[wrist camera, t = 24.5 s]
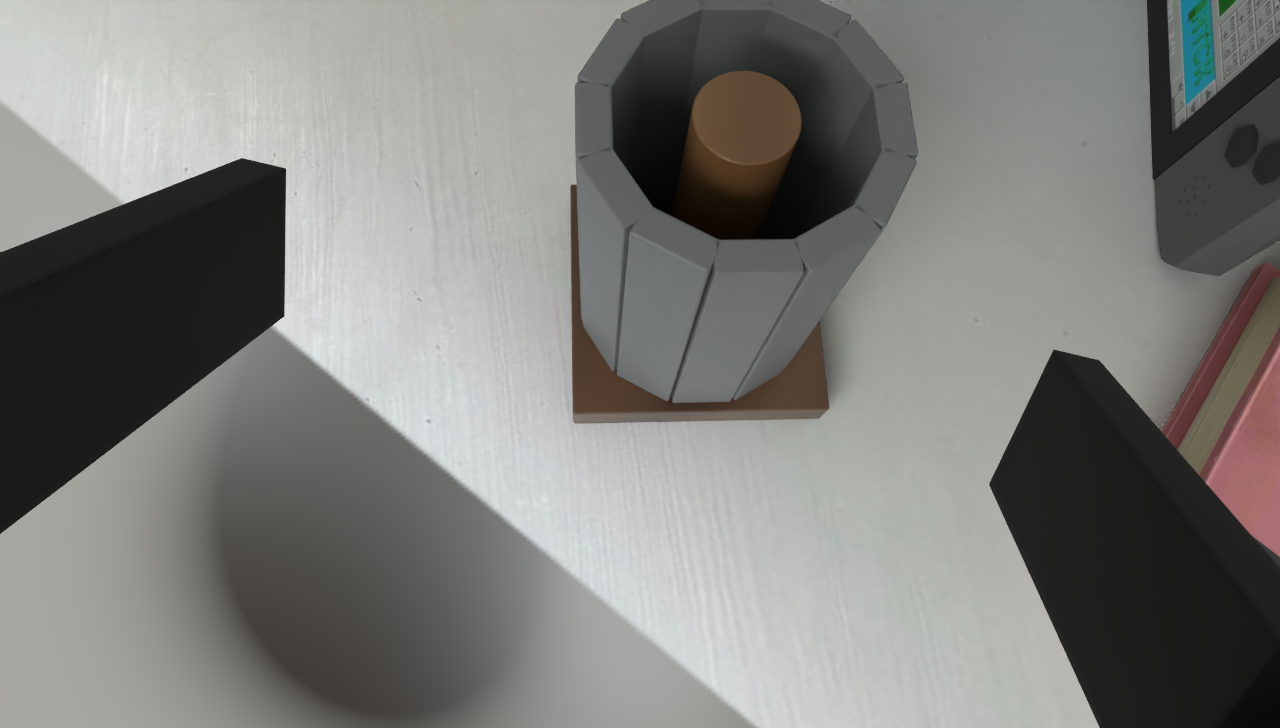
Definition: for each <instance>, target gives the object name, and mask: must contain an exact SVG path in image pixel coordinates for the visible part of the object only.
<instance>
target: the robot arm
mask: <svg viewBox="0 0 1280 728" xmlns="http://www.w3.org/2000/svg"><path fill="white" fill-rule="evenodd" d="M285 206H286V169H285V168H281V167H277V166H273V165H268V164H264V163H260V162H256V161H251V160H247V159H243V158H241V159H239V160H236V161H233V162H231V163H228V164H226V165H223V166H221V167H218V168H216V169H213V170H210V171H208V172H205V173H203V174H200V175H198V176H195V177H193V178H190V179H187V180H185V181H182V182H180V183H177V184H175V185H172V186H170V187H167V188H164V189H162V190H159V191H157V192H154V193H152V194H149V195H147V196H144V197H141V198H139V199H136V200H134V201H131V202H129V203H126V204H124V205H121V206H119V207H116V208H113V209H111V210H108V211H106V212H103V213H101V214H98V215H96V216H93V217H90V218H88V219H85V220H83V221H80V222H78V223H75V224H73V225H70V226H68V227H65V228H62V229H60V230H57V231H55V232H52V233H50V234H47V235H44V236H42V237H39V238H37V239H34V240H32V241H29V242H27V243H24V244H21V245H19V246H16V247H14V248H11V249H9V250H6V251H4V252H0V534H1V533H2V532H3V531H4V530H6V529H7V528H8V527H10V526H11V525H12V524H14V523H15V522H16V521H17V520H19V519H20V518H21V517H23V516H24V515H25V514H27V513H28V512H29V511H30V510H32V509H33V508H34V507H36V506H37V505H38V504H40V503H41V502H42V501H44V500H45V499H46V498H47V497H49V496H50V495H51V494H53V493H54V492H55V491H57V490H58V489H59V488H61V487H62V486H63V485H65V484H66V483H67V482H68V481H70V480H71V479H72V478H73V477H75V476H76V475H77V474H79V473H80V472H81V471H83V470H84V469H85V468H87V467H88V466H89V465H90V464H92V463H93V462H95V461H96V460H97V459H99V458H100V457H101V456H102V455H104V454H105V453H106V452H108V451H109V450H110V449H112V448H113V447H114V446H115V445H117V444H118V443H119V442H121V441H122V440H123V439H125V438H126V437H127V436H129V435H130V434H131V433H132V432H134V431H135V430H136V429H137V428H139V427H140V426H142V425H143V424H144V423H145V422H147V421H148V420H149V419H151V418H152V417H153V416H155V415H156V414H157V413H158V412H160V411H161V410H162V409H164V408H165V407H166V406H168V404H170V403H172V402H173V401H174V400H175V399H177V398H178V397H179V396H181V395H182V394H183V393H185V392H186V391H187V390H189V389H190V388H191V387H192V386H194V385H195V384H196V383H198V382H199V381H200V380H202V379H203V378H204V377H206V376H207V375H208V374H209V373H211V372H212V371H213V370H215V369H216V368H217V367H219V366H220V365H221V364H223V363H224V362H225V361H226V360H227V359H229V358H230V357H232V356H233V355H234V354H236V353H237V352H238V351H239V350H241V349H242V348H243V347H245V346H246V345H247V344H249V343H250V342H251V341H253V340H254V339H255V338H256V337H258V336H259V335H260V334H262V333H263V332H264V331H266V330H267V329H268V328H269V327H271V326H272V325H273V324H275V323H276V322H277V321H279V320H280V319H281V318H283V317H284V295H285ZM989 485H990V487H991V490H992V492H993V494H994V496H995V498H996V501H997V503H998V505H999V507H1000V509H1001V512H1002V514H1003V516H1004V518H1005V520H1006V523H1007V525H1008V527H1009V529H1010V531H1011V534H1012V536H1013V538H1014V540H1015V542H1016V545H1017V547H1018V549H1019V551H1020V553H1021V556H1022V558H1023V560H1024V562H1025V564H1026V567H1027V569H1028V571H1029V573H1030V575H1031V578H1032V580H1033V582H1034V584H1035V586H1036V589H1037V591H1038V593H1039V595H1040V597H1041V600H1042V602H1043V604H1044V606H1045V608H1046V611H1047V613H1048V615H1049V617H1050V619H1051V622H1052V624H1053V626H1054V628H1055V630H1056V632H1057V635H1058V637H1059V639H1060V641H1061V643H1062V646H1063V648H1064V650H1065V652H1066V654H1067V657H1068V659H1069V661H1070V663H1071V665H1072V668H1073V670H1074V672H1075V674H1076V676H1077V679H1078V681H1079V683H1080V685H1081V687H1082V690H1083V692H1084V694H1085V696H1086V698H1087V701H1088V703H1089V705H1090V707H1091V709H1092V712H1093V714H1094V716H1095V718H1096V720H1097V723H1098V725H1099V727H1100V728H1280V557H1279V556H1278V555H1277V554H1275V553H1274V552H1273V551H1271V550H1270V549H1269V548H1268V547H1266V546H1265V545H1264V544H1262V543H1261V542H1260V541H1258V540H1257V539H1256V538H1254V537H1253V536H1252V535H1251V534H1250V533H1249V532H1248V531H1247V530H1246V529H1245V527H1244V526H1243V525H1242V524H1241V523H1240V522H1239V520H1238V519H1237V518H1236V517H1235V516H1234V515H1233V514H1232V512H1231V511H1230V510H1229V509H1228V508H1227V507H1226V506H1225V504H1224V503H1223V502H1222V501H1221V500H1220V499H1219V497H1218V496H1217V495H1216V494H1215V493H1214V492H1213V491H1212V489H1211V488H1210V487H1209V486H1208V485H1207V484H1206V483H1205V481H1204V480H1203V479H1202V478H1201V477H1200V476H1199V475H1198V473H1197V472H1196V471H1195V470H1194V469H1193V468H1192V466H1191V465H1190V464H1189V463H1188V462H1187V461H1186V460H1185V458H1184V457H1183V456H1182V455H1181V454H1180V453H1179V452H1178V450H1177V449H1176V448H1175V447H1174V446H1173V445H1172V443H1171V442H1170V441H1169V440H1168V439H1167V438H1166V437H1165V435H1164V434H1163V433H1162V432H1161V431H1160V430H1159V429H1158V427H1157V426H1156V425H1155V424H1154V423H1153V422H1152V421H1151V419H1150V418H1149V417H1148V416H1147V415H1146V414H1145V412H1144V411H1143V410H1142V409H1141V408H1140V407H1139V406H1138V404H1137V403H1136V402H1135V401H1134V400H1133V399H1132V398H1131V396H1130V395H1129V394H1128V393H1127V392H1126V391H1125V389H1124V388H1123V387H1122V386H1121V385H1120V384H1119V383H1118V381H1117V380H1116V379H1115V378H1114V377H1113V376H1112V375H1111V373H1110V372H1109V371H1108V370H1107V369H1106V368H1105V367H1104V365H1103V364H1102V363H1101V362H1100V361H1099V360H1095V359H1091V358H1087V357H1083V356H1078V355H1074V354H1070V353H1066V352H1061V351H1057V350H1053V352H1052V354H1051V356H1050V358H1049V361H1048V363H1047V365H1046V367H1045V369H1044V371H1043V373H1042V375H1041V377H1040V379H1039V381H1038V384H1037V386H1036V388H1035V390H1034V392H1033V394H1032V396H1031V398H1030V400H1029V402H1028V404H1027V406H1026V409H1025V411H1024V413H1023V415H1022V417H1021V419H1020V421H1019V423H1018V425H1017V427H1016V429H1015V432H1014V434H1013V436H1012V438H1011V440H1010V442H1009V444H1008V446H1007V448H1006V450H1005V452H1004V455H1003V457H1002V459H1001V461H1000V463H999V465H998V467H997V469H996V471H995V473H994V475H993V477H992V480H991V482H990V484H989Z"/></svg>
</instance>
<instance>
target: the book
mask: <svg viewBox="0 0 1280 728" xmlns="http://www.w3.org/2000/svg"><path fill="white" fill-rule="evenodd" d="M1161 432H1162V433H1163V434H1164V435H1165V437H1166V438H1167V439H1168V440H1169V441H1170V442H1171V443H1172V445H1173V446H1174V447H1175V448H1176V449H1177V450H1178V452H1179V453H1180V454H1181V455H1182V456H1183V457H1184V458H1185V460H1186V461H1187V462H1188V463H1189V464H1190V465H1191V466H1192V468H1193V469H1194V470H1195V471H1196V472H1197V473H1198V475H1199V476H1200V477H1201V478H1202V479H1203V480H1204V481H1205V483H1206V484H1207V485H1208V486H1209V487H1210V488H1211V489H1212V491H1213V492H1214V493H1215V494H1216V495H1217V496H1218V497H1219V499H1220V500H1221V501H1222V502H1223V503H1224V504H1225V506H1226V507H1227V508H1228V509H1229V510H1230V511H1231V512H1232V514H1233V515H1234V516H1235V517H1236V518H1237V519H1238V520H1239V522H1240V523H1241V524H1242V525H1243V526H1244V527H1245V529H1246V530H1247V531H1248V532H1249V533H1250V534H1251V535H1252V536H1253V537H1254V538H1256V539H1257V540H1258V541H1260V542H1261V543H1262V544H1264V545H1265V546H1266V547H1268V548H1269V549H1270V550H1271V551H1273V552H1274V553H1275V554H1277V555H1278V556H1279V557H1280V271H1279V270H1277V269H1276V268H1274V267H1272V266H1271V265H1269V264H1268V263H1265V264H1263V265H1261V266H1259V267H1257V268H1256V269H1254V270H1253V272H1252V274H1251V276H1250V277H1249V279H1248V281H1247V283H1246V284H1245V286H1244V288H1243V290H1242V291H1241V293H1240V295H1239V297H1238V298H1237V300H1236V302H1235V304H1234V305H1233V307H1232V309H1231V311H1230V312H1229V314H1228V316H1227V318H1226V319H1225V321H1224V323H1223V325H1222V326H1221V328H1220V330H1219V332H1218V333H1217V335H1216V337H1215V339H1214V340H1213V342H1212V344H1211V346H1210V347H1209V349H1208V351H1207V353H1206V354H1205V356H1204V358H1203V360H1202V361H1201V363H1200V365H1199V367H1198V368H1197V370H1196V372H1195V374H1194V375H1193V377H1192V379H1191V381H1190V382H1189V384H1188V386H1187V388H1186V389H1185V391H1184V393H1183V395H1182V396H1181V398H1180V400H1179V402H1178V403H1177V405H1176V407H1175V409H1174V410H1173V412H1172V414H1171V416H1170V417H1169V419H1168V421H1167V423H1166V424H1165V426H1164V428H1163V430H1162V431H1161Z"/></svg>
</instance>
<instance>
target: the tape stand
mask: <svg viewBox="0 0 1280 728" xmlns="http://www.w3.org/2000/svg"><path fill="white" fill-rule="evenodd" d="M801 125H802V120H801V113H800V109H799V106H798V104H797V102H796V100H795V98H794V97H793V95H792V94H791V92H790V91H789V90H788V89H787V88H786V87H785V86H784V85H783V84H781V83H780V82H778V81H777V80H775V79H773V78H772V77H770V76H767V75H765V74H762V73H758V72H753V71H732V72H728V73H724V74H721V75H719V76H717V77H715V78H713V79H712V80H710V81H709V82H708V83H706V84H705V85H704V86H703V87H702V88H701V90H700V91H699V92H698V94H697V96H696V98H695V100H694V103H693V106H692V112H691V117H690V122H689V128H688V133H687V138H686V144H685V149H684V154H683V160H682V165H681V170H680V176H679V181H678V186H677V192H676V197H675V202H674V208H673V213H667V214H668V215H670V216H672V217H674V218H676V219H678V220H680V221H682V222H684V223H686V224H688V225H690V226H692V227H694V228H696V229H698V230H700V231H702V232H704V233H706V234H708V235H710V236H712V237H714V238H717V239H719V240H746V239H758V236H759V233H760V231H761V228H762V226H763V224H764V221H765V219H766V216H767V214H768V211H769V209H770V206H771V204H772V202H773V199H774V197H775V194H776V192H777V189H778V187H779V184H780V182H781V180H782V177H783V175H784V172H785V170H786V167H787V165H788V162H789V160H790V157H791V155H792V153H793V150H794V148H795V145H796V143H797V140H798V138H799V135H800V132H801ZM571 286H572V385H573V421H574V423H619V422H668V421H717V420H765V419H814V418H820V417H821V416H822V415H823V414H824V413H825V412H826V411H827V410H828V409H829V403H828V394H827V385H826V376H825V367H824V357H823V348H822V339H821V330H820V321H819V322H818V323H817V324H816V326H815V327H814V329H813V330H812V332H811V333H810V334H809V336H808V337H807V339H806V340H805V342H804V343H803V344H802V346H801V347H800V349H799V350H798V351H797V353H796V354H795V356H794V357H793V359H792V360H791V361H790V363H789V364H788V366H787V367H786V368H784V370H783V371H782V373H780V374H778V375H777V376H775V377H773V378H772V379H770V380H768V381H767V382H765V383H764V384H762V385H760V386H759V387H757V388H755V389H754V390H752V391H750V392H749V393H747V394H745V395H744V396H742V397H740V398H739V399H737V400H734V399H733V398H732V399H731V401H730V402H697V403H673V402H672V396H671V398H670V399H669V400H668V401H665V400H663V399H662V398H660V397H658V396H656V395H654V394H652V393H650V392H648V391H646V390H644V389H642V388H641V387H639V386H637V385H635V384H633V383H631V382H629V381H627V380H625V379H623V378H621V377H620V376H618V375H617V370H615V371H612V370H611V369H610V367H609V365H608V364H607V362H606V361H605V359H604V358H603V356H602V355H601V353H600V351H599V350H598V348H597V347H596V345H595V344H594V342H593V340H592V339H591V337H590V336H589V334H588V333H587V331H586V330H585V328H584V326H583V320H582V319H581V297H580V268H579V238H578V208H577V185H571Z"/></svg>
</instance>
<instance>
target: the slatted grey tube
mask: <svg viewBox="0 0 1280 728" xmlns="http://www.w3.org/2000/svg"><path fill="white" fill-rule="evenodd" d="M850 18H851V16H850V15H849V14H847V13H844V12H842V11H840V10H838V9H836V8H834V7H831V6H829V5H827V4H825V3H823V2H820V1H818V0H649V1H647V2H645V3H643V4H640V5H638V6H636V7H634V8H632V9H630V10H628V11H626V12H623V13H622V14H621V20H620V19H616V20H615V22H614V23H613V24H612V26H611V27H610V29H609V30H608V32H607V33H606V35H605V36H604V38H603V39H602V41H601V42H600V44H599V45H598V47H597V48H596V50H595V51H594V53H593V54H592V56H591V57H590V59H589V60H588V61H587V63H586V64H585V66H584V67H583V69H582V70H581V72H580V73H579V75H578V83H576V85H575V142H576V179H577V208H578V238H579V268H580V297H581V319H582V320H583V326H584V328H585V330H586V331H587V333H588V334H589V336H590V337H591V339H592V340H593V342H594V344H595V345H596V347H597V348H598V350H599V351H600V353H601V355H602V356H603V358H604V359H605V361H606V362H607V364H608V365H609V367H610V369H611V370H612V371H615V370H617V375H618V376H620V377H621V378H623V379H625V380H627V381H629V382H631V383H633V384H635V385H637V386H639V387H641V388H642V389H644V390H646V391H648V392H650V393H652V394H654V395H656V396H658V397H660V398H662V399H663V400H665V401H668V400H669V399H670V398H671V396H672V402H673V403H697V402H730V401H731V399H732V398H733V399H734V400H737V399H739V398H740V397H742V396H744V395H745V394H747V393H749V392H750V391H752V390H754V389H755V388H757V387H759V386H760V385H762V384H764V383H765V382H767V381H768V380H770V379H772V378H773V377H775V376H777V375H778V374H780V373H782V371H783V370H784V368H786V367H787V366H788V364H789V363H790V361H791V360H792V359H793V357H794V356H795V354H796V353H797V351H798V350H799V349H800V347H801V346H802V344H803V343H804V342H805V340H806V339H807V337H808V336H809V334H810V333H811V332H812V330H813V329H814V327H815V326H816V324H817V323H818V322H819V320H820V319H821V317H822V316H823V315H824V313H825V312H826V310H827V309H828V307H829V306H830V305H831V303H832V302H833V300H834V299H835V298H836V296H837V295H838V293H839V292H840V290H841V289H842V288H843V286H844V285H845V283H846V282H847V280H848V279H849V278H850V276H851V275H852V273H853V272H854V271H855V269H856V268H857V266H858V265H859V263H860V262H861V261H862V259H863V258H864V256H865V255H866V254H867V252H868V251H869V249H870V248H871V246H872V245H873V244H874V242H875V241H876V239H877V238H878V236H879V235H880V234H881V232H882V231H883V229H884V228H885V227H886V225H887V223H888V221H889V219H890V217H891V215H892V213H893V211H894V209H895V206H896V204H897V202H898V200H899V198H900V196H901V194H902V192H903V190H904V188H905V186H906V184H907V182H908V180H909V178H910V176H911V174H912V171H913V169H914V167H915V165H916V160H915V159H916V157H917V156H918V149H917V143H916V137H915V130H914V124H913V118H912V112H911V105H910V99H909V93H908V87H907V84H906V83H902V81H903V79H904V77H903V75H902V74H901V73H900V72H899V71H898V69H897V68H896V67H895V66H894V65H893V63H892V62H891V61H890V60H889V59H888V57H887V56H886V55H885V54H884V53H883V51H882V50H881V49H880V48H879V46H878V45H877V44H876V43H875V42H874V40H873V39H872V38H871V37H870V36H869V34H868V33H867V32H866V31H865V30H864V28H863V27H862V26H861V25H860V24H859V22H858V21H857V20H854V21H852V22H850V23H849V21H850ZM732 71H753V72H758V73H762V74H765V75H767V76H770V77H772V78H773V79H775V80H777V81H778V82H780V83H781V84H783V85H784V86H785V87H786V88H787V89H788V90H789V91H790V92H791V94H792V95H793V97H794V98H795V100H796V102H797V104H798V106H799V109H800V113H801V120H802V125H801V132H800V135H799V138H798V140H797V143H796V145H795V148H794V150H793V153H792V155H791V157H790V160H789V162H788V165H787V167H786V170H785V172H784V175H783V177H782V180H781V182H780V184H779V187H778V189H777V192H776V194H775V197H774V199H773V202H772V204H771V206H770V209H769V211H768V214H767V216H766V219H765V221H764V224H763V226H762V228H761V231H760V233H759V236H758V239H746V240H719V239H717V238H714V237H712V236H710V235H708V234H706V233H704V232H702V231H700V230H698V229H696V228H694V227H692V226H690V225H688V224H686V223H684V222H682V221H680V220H678V219H676V218H674V217H672V216H670V215H668V214H667V213H673V208H674V202H675V197H676V192H677V186H678V181H679V176H680V170H681V165H682V160H683V154H684V149H685V144H686V138H687V133H688V128H689V122H690V117H691V112H692V106H693V103H694V100H695V98H696V96H697V94H698V92H699V91H700V90H701V88H702V87H703V86H704V85H705V84H706V83H708V82H709V81H710V80H712V79H713V78H715V77H717V76H719V75H721V74H724V73H728V72H732Z"/></svg>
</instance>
